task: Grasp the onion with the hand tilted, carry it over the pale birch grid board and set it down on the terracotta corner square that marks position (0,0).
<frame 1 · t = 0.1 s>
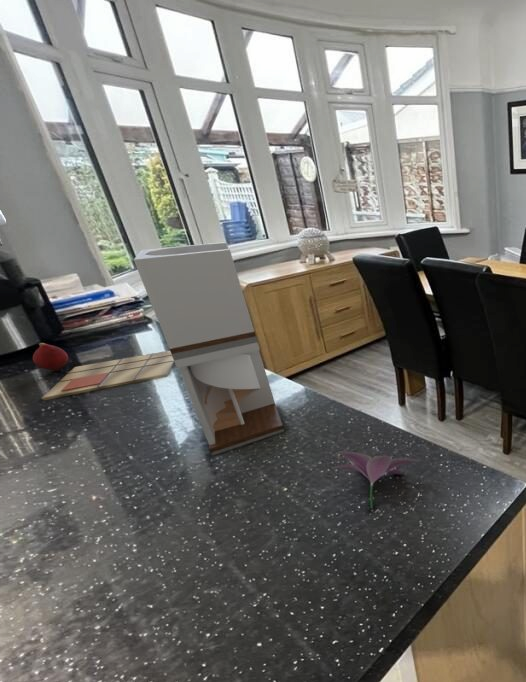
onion: (57, 371, 103), on the kitchen counter
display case: (248, 432, 76), on the kitchen counter
grid board: (121, 374, 100), on the kitchen counter
lily: (379, 491, 61), on the kitchen counter
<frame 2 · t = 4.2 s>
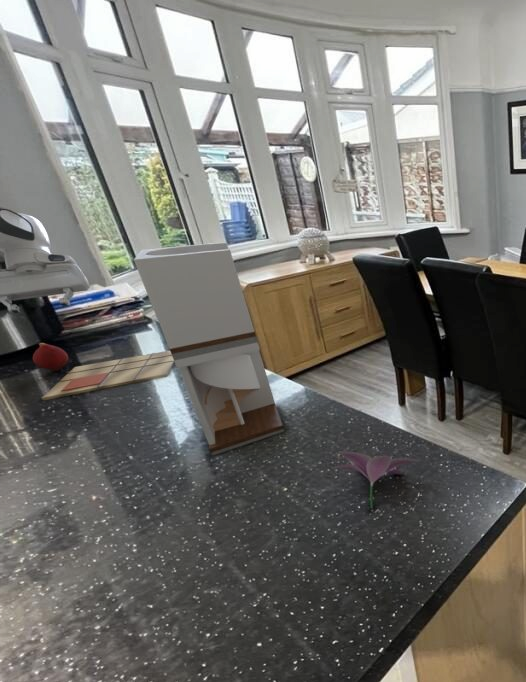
hand: (40, 308, 106), 14 cm above the kitchen counter, tool tilted 45°, fingers open, 8 cm apart
nothing on the kitchen counter moved.
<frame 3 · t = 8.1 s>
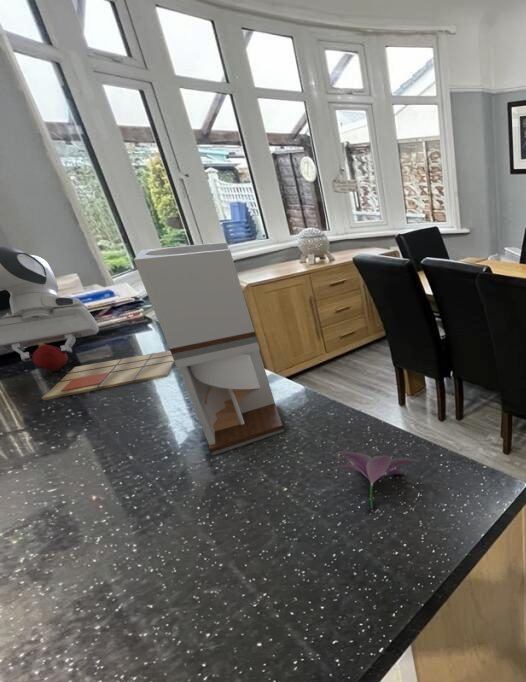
hand: (47, 356, 101), 4 cm above the kitchen counter, tool tilted 45°, fingers closed on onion, 5 cm apart
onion: (57, 371, 103), on the kitchen counter, touching gripper
everything else where it was.
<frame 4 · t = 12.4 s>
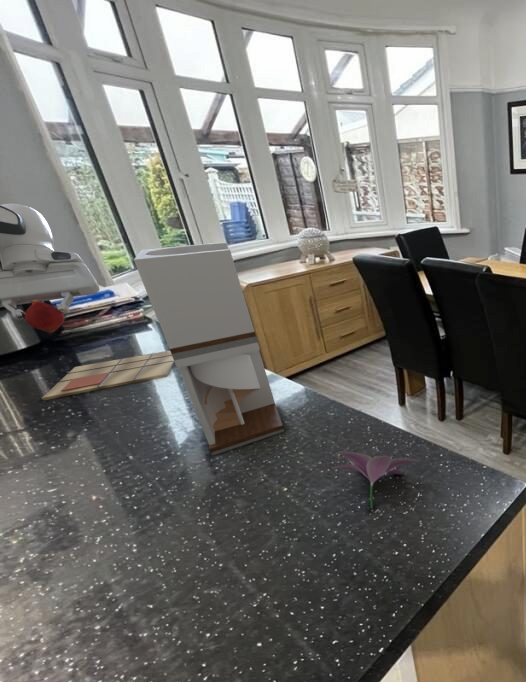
hand: (42, 314, 90), 17 cm above the kitchen counter, tool tilted 45°, fingers closed on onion, 5 cm apart
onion: (53, 332, 93), point 13 cm above the kitchen counter, touching gripper
everything else where it was.
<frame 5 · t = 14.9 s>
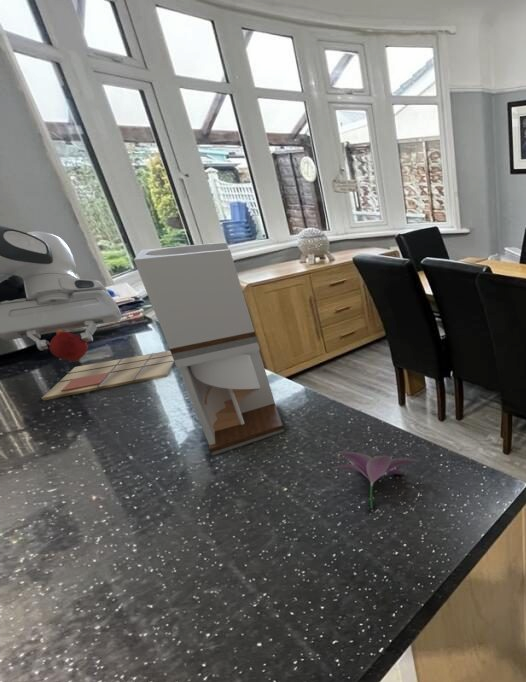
hand: (66, 344, 90), 11 cm above the kitchen counter, tool tilted 45°, fingers closed on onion, 5 cm apart
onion: (77, 361, 92), point 7 cm above the kitchen counter, touching gripper
everything else where it was.
when the fingers open (6 cm above the kitchen counter, at t = 17.0 s): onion stays where it is, resting on grid board.
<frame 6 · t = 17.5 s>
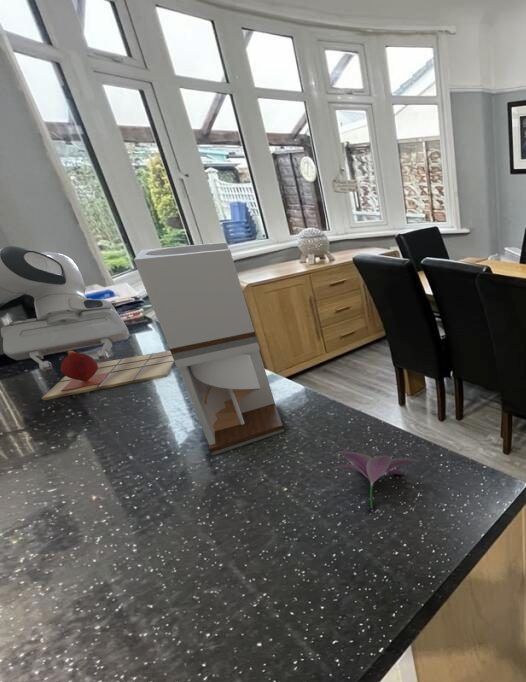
hand: (76, 363, 92), 6 cm above the kitchen counter, tool tilted 45°, fingers open, 8 cm apart
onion: (87, 381, 94), point 1 cm above the kitchen counter, touching grid board
everything else where it was.
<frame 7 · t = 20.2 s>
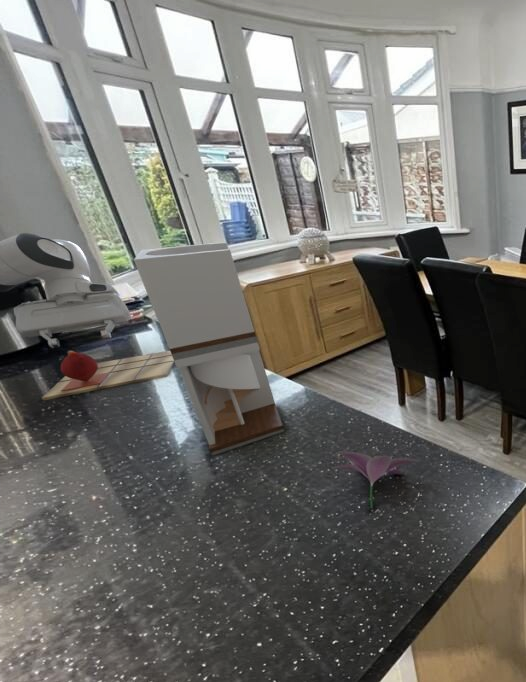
hand: (81, 341, 100), 8 cm above the kitchen counter, tool tilted 45°, fingers open, 8 cm apart
nothing on the kitchen counter moved.
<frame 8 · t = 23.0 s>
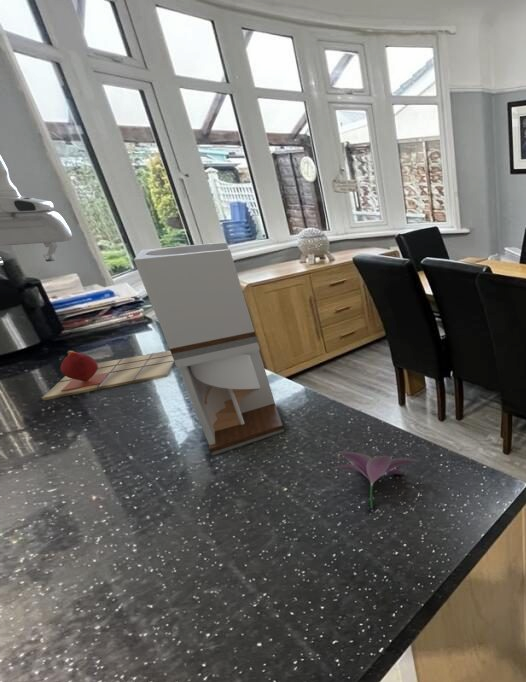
hand: (25, 263, 98), 27 cm above the kitchen counter, tool pointing down, fingers open, 8 cm apart
nothing on the kitchen counter moved.
at the end: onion 0.1 cm from the target spot on the grid board, point 1.3 cm above the grid board's base; the gripper is holding nothing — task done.
